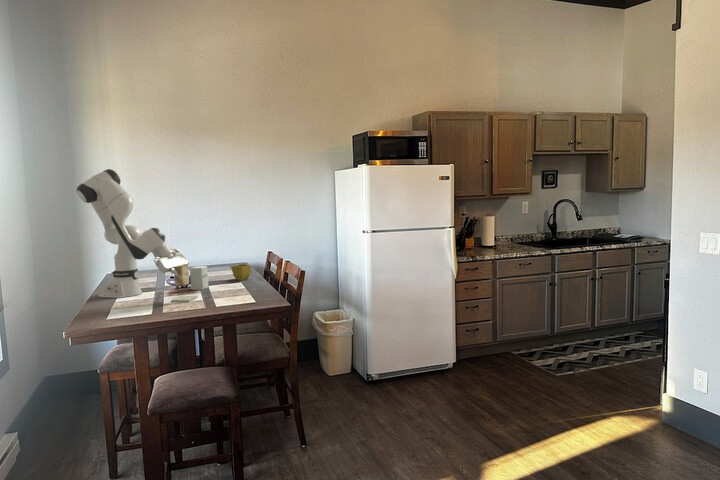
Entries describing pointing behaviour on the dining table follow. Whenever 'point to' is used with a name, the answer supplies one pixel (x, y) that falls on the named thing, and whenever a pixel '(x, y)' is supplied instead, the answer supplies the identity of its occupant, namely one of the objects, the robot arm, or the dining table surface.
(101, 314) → the dining table surface
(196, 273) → the supplement box
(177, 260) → the robot arm
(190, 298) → the tile
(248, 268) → the flower pot
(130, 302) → the dining table surface
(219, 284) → the dining table surface
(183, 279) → the beech block
